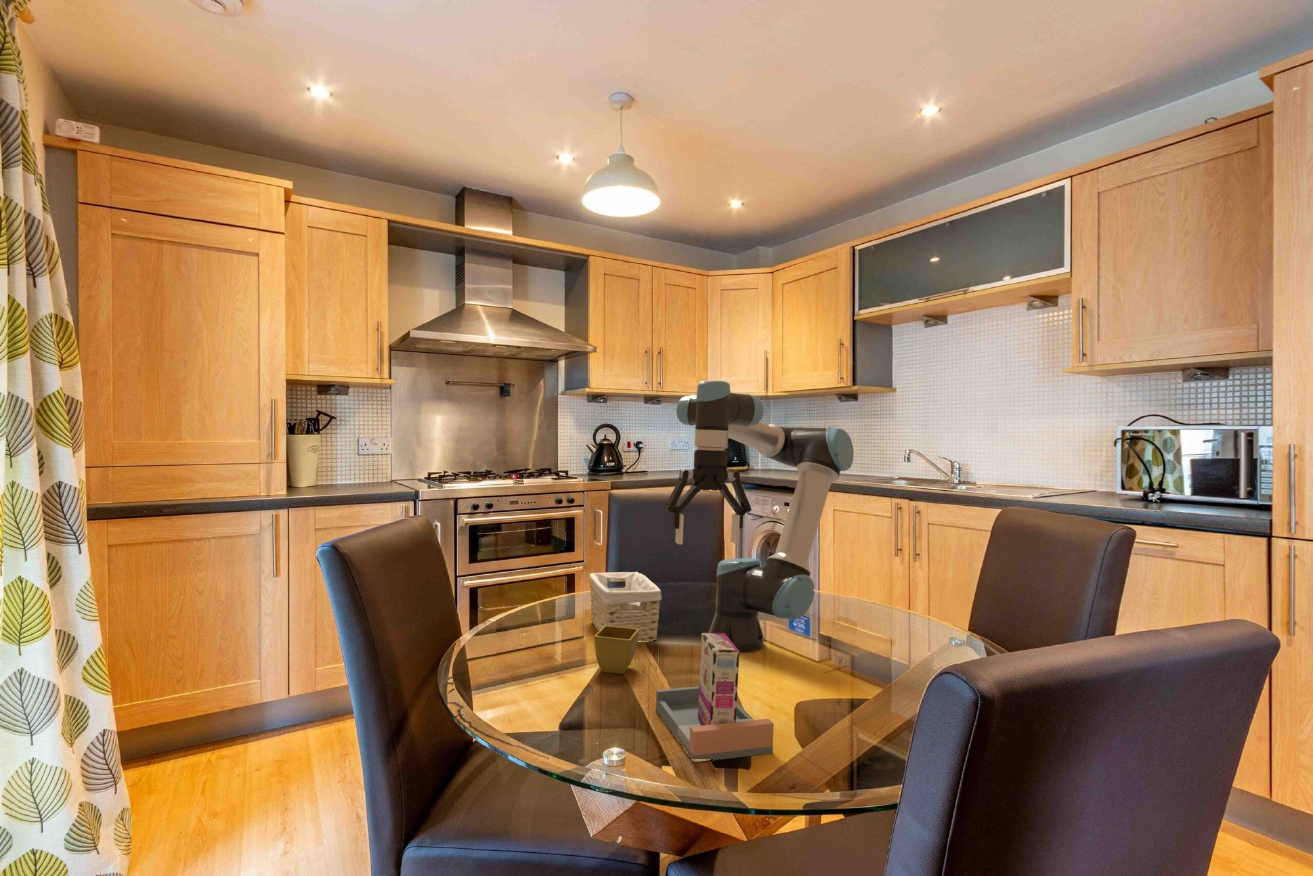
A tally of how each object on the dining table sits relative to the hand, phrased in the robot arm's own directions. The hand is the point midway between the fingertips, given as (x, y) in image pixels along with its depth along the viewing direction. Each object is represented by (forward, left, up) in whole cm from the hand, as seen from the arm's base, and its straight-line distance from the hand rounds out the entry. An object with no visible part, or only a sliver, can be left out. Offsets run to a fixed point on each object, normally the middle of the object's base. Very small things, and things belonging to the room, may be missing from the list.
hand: (707, 543), depth 141 cm
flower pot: (+17, -12, -32) cm, 38 cm away
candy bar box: (+7, +24, -31) cm, 40 cm away
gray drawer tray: (+7, +22, -32) cm, 39 cm away
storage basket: (+8, -41, -32) cm, 52 cm away
